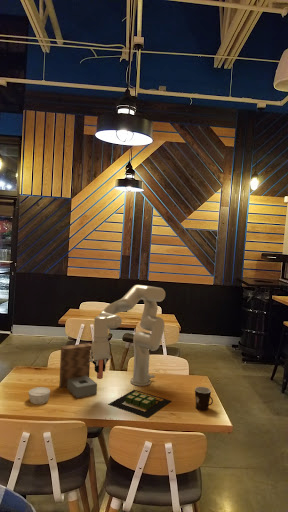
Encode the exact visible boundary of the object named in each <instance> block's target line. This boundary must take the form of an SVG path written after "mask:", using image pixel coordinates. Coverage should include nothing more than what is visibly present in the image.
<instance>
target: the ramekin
mask: <svg viewBox="0 0 288 512" xmlns="http://www.w3.org/2000/svg"><path fill="white" fill-rule="evenodd" d="M50 394H51V389H50V388H48V387H45V386H37V387H33V388H31V389H30V390H28V397H29V402H30V403H31V404H34V405H43V404H45V403H47V402H49V400H50Z"/></svg>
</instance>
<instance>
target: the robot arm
mask: <svg viewBox="0 0 288 512" xmlns="http://www.w3.org/2000/svg"><path fill="white" fill-rule="evenodd" d="M165 298H166V291H165V290H164V288H162V287H157V286H153V285H152V286H151V285H143V284H134V285H133V286H132V287H130V289H129V290H128V291H127V292H126V293H125V295H123V297H121V298H120V299H118V300H115V301H114V302H112V303H110V304H108V305H107V306H106V307H105V308H104V309H102V311H101V312H100V313H99V315H97V316H95V317H94V318H93V319H94V320H93V340H92V341H91V349H90V359H89V361H90V363H93V365H94V371H95V373H96V374H97V373H99V366H98V360H102V359H103V373H104V372H106V368H107V367H106V365H107V362H108V361H109V360H111V359H112V355H111V349H110V347H111V346H110V341H109V338H111V337H110V335H109V334H108V333H109V329H117V328H119V327H120V326H121V325H122V321H123V320H122V317H120V315H118V313H122V312H128V311H131V310H132V309H134V307H136V305H137V304H138V303H139V301H142V300H143V303H144V307H143V311H142V314H141V319H140V323H139V326H140V328H141V329H142V330H145V331H142V330H140V331H137V332H135V333H134V334H133V338H132V340H133V352H134V353H133V355H134V356H133V369H132V370H133V374H132V378H131V379H129V380H130V381H129V382H130V383H131V384H132V385H134V386H137V387H138V386H139V387H143V386H144V387H145V386H148V385H150V384H151V382H152V381H151V379H154V378H155V377H156V374H151V373H149V371H150V351H153V352H154V351H157V350H158V349H159V348H160V344H161V342H162V339H163V334H164V332H165V331H164V330H165V321H164V318H162V317H160V316H157V312H158V303H157V302H159V303H160V302H163V300H165ZM146 331H148V332H146ZM149 331H150V332H151V333H150V332H149Z"/></svg>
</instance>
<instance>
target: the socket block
mask: <svg viewBox="0 0 288 512" xmlns="http://www.w3.org/2000/svg"><path fill="white" fill-rule="evenodd" d="M66 388H67V391H69V392H70V393H71V394H72V395H73V396H74V397H75V398H76V399H78V398H85V397H88V396H89V397H90V396H94V395H97V393H98V389H97V388H98V383H97V382H95V380H93V379H92V378H90V376H89V377H88V376H81V377H75V378H69V379H68V386H67V387H66Z"/></svg>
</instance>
